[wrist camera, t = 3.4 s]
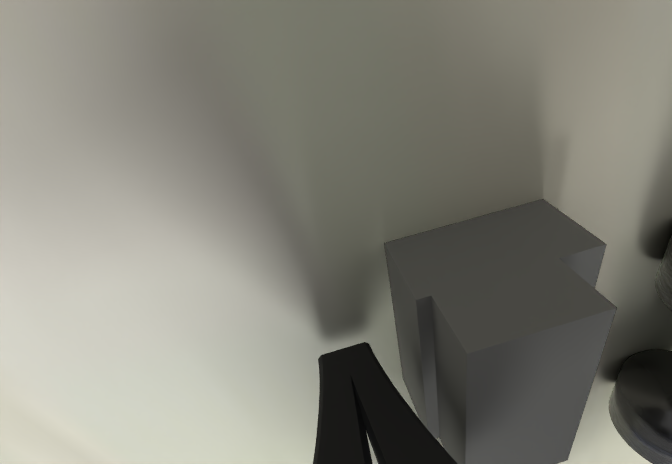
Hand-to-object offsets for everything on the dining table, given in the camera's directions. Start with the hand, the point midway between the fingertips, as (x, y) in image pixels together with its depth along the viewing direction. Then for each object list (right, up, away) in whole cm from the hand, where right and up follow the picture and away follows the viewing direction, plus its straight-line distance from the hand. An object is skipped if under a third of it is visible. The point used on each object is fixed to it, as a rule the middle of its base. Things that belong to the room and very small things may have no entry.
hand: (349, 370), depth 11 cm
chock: (+4, +2, +1) cm, 4 cm away
